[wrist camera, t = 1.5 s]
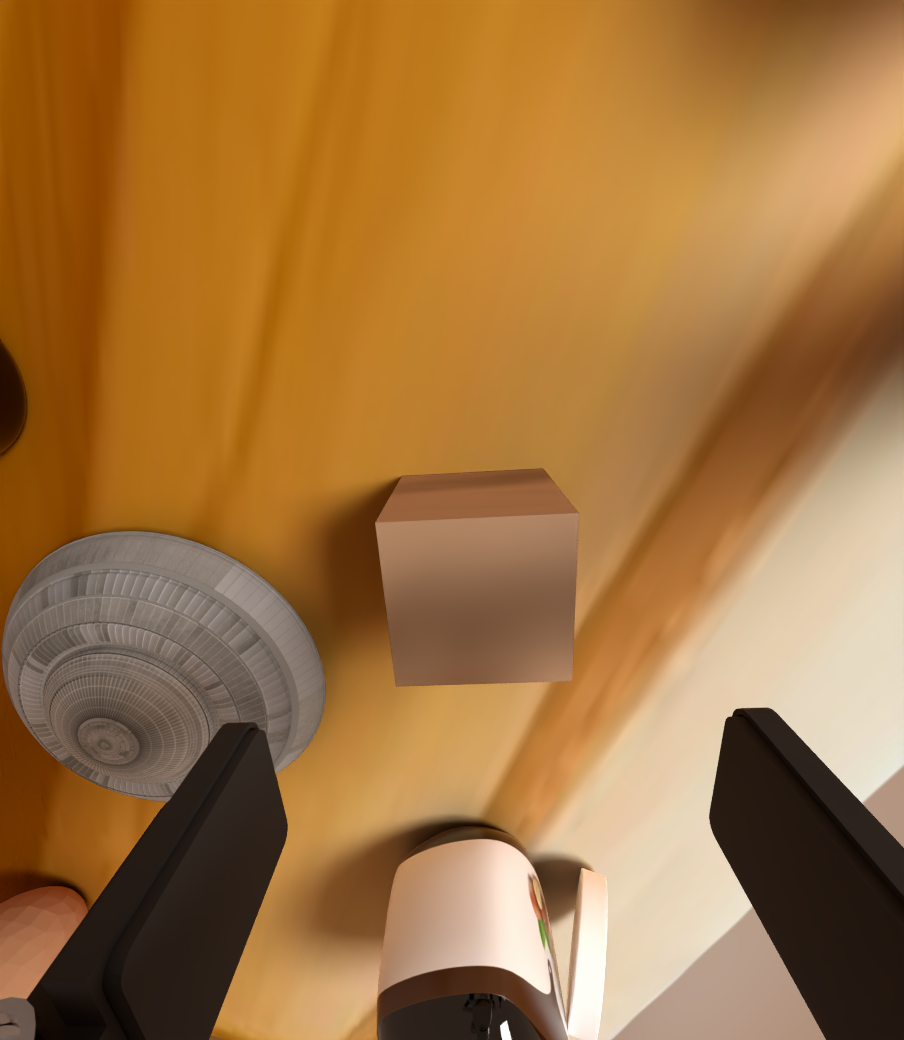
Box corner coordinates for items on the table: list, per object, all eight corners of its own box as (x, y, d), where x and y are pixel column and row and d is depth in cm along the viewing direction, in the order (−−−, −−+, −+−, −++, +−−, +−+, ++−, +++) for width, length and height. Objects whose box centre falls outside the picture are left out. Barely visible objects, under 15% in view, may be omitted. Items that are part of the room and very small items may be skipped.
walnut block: (402, 475, 18) (375, 522, 13) (542, 468, 18) (578, 513, 12) (414, 598, 20) (395, 686, 15) (541, 593, 20) (572, 680, 14)
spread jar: (380, 828, 26) (317, 1174, 15) (558, 772, 24) (640, 1120, 13) (462, 942, 29) (462, 1289, 18) (623, 901, 27) (732, 1259, 16)
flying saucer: (165, 798, 25) (89, 908, 20) (-27, 596, 21) (-186, 670, 16) (386, 713, 23) (364, 813, 18) (219, 465, 19) (125, 501, 13)
